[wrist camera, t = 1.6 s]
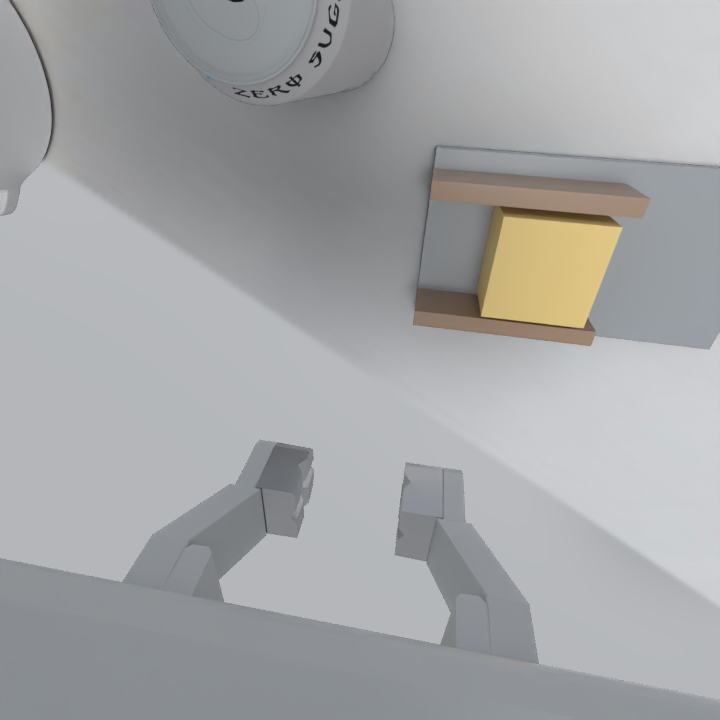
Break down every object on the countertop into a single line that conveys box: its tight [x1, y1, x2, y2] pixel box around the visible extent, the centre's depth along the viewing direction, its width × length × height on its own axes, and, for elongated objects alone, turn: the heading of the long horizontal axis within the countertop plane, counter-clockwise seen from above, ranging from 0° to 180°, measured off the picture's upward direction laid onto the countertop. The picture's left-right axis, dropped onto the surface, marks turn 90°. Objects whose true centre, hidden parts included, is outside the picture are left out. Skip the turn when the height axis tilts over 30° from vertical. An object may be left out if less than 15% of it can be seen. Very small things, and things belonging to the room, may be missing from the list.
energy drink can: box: [151, 0, 394, 106], centre depth 17 cm, size 6×6×15 cm
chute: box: [413, 146, 720, 349], centre depth 26 cm, size 20×11×4 cm, turn 87°
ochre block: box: [477, 206, 623, 328], centre depth 26 cm, size 6×6×4 cm
